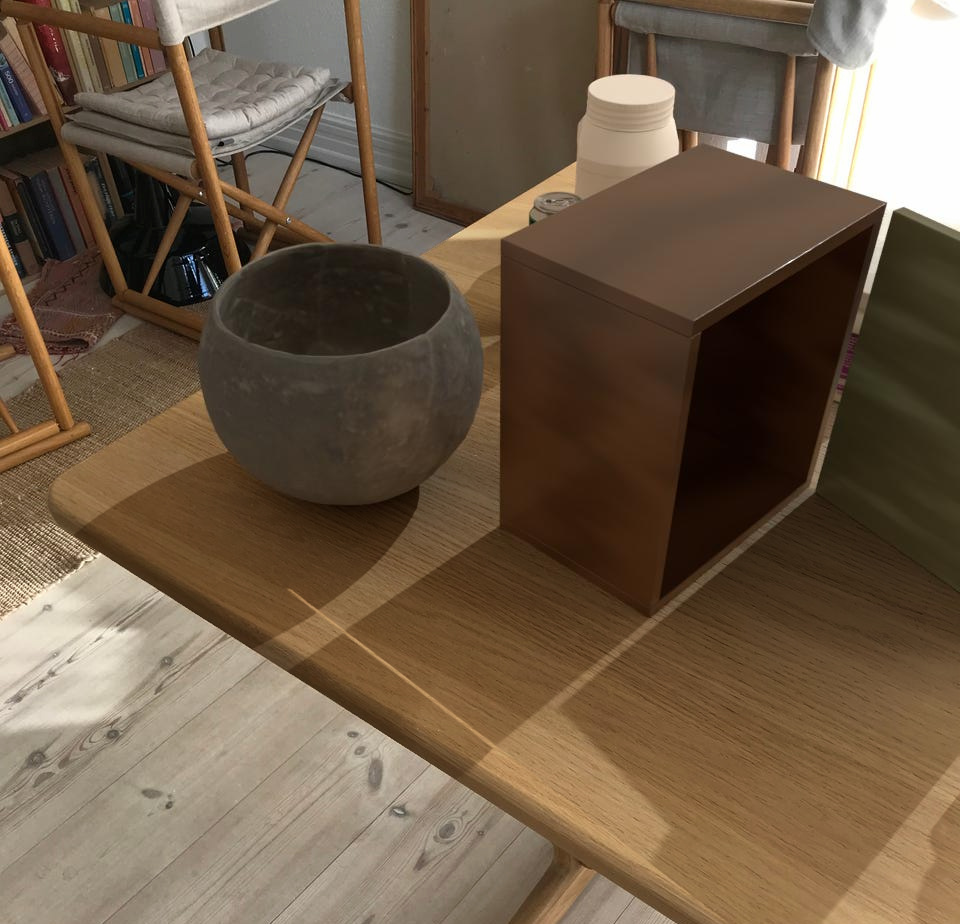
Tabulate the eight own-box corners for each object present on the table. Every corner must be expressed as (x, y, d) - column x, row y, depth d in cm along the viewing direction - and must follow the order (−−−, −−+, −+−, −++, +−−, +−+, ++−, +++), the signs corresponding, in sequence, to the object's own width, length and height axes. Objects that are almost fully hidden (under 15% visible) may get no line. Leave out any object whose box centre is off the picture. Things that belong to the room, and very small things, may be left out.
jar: (667, 269, 105) (687, 111, 94) (572, 267, 105) (581, 110, 94) (660, 219, 113) (678, 68, 102) (572, 218, 113) (580, 68, 102)
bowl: (366, 595, 72) (342, 411, 61) (168, 487, 81) (117, 309, 70) (534, 455, 83) (539, 278, 72) (344, 373, 92) (324, 204, 81)
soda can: (582, 344, 95) (591, 214, 86) (527, 344, 95) (530, 215, 86) (578, 316, 98) (586, 188, 90) (525, 316, 98) (528, 189, 90)
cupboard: (810, 487, 80) (887, 202, 64) (648, 619, 70) (693, 321, 54) (664, 415, 87) (702, 142, 71) (499, 526, 77) (500, 238, 61)
